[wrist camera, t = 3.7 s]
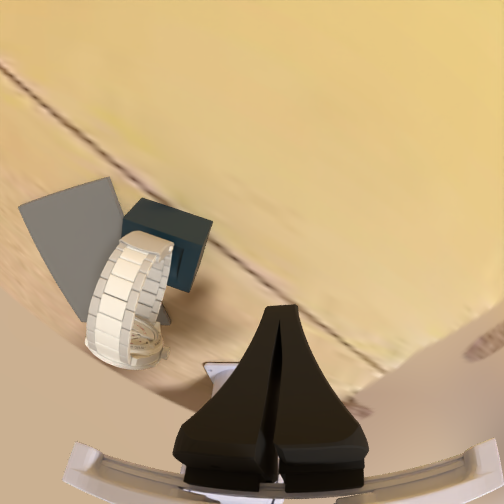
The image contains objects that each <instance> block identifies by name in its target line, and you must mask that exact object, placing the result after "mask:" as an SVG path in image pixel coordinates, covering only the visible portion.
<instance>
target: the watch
mask: <svg viewBox="0 0 504 504" xmlns="http://www.w3.org/2000/svg"><path fill="white" fill-rule="evenodd" d="M212 223H213V221H210V220H207V219H204V218H201V217H199V216H196V215H193V214H190V213H187V212H184V211H181V210H178V209H175V208H172V207H169V206H166V205H163V204H160V203H157V202H154V201H151V200H148V199H145V198H141V199H140V200H139V201H138V202H137V203H136V205H135V206H134V207H133V208H132V209H131V210H130V211H129V212H128V213H127V214H126V215H125V217H124V218H123V223H122V234H121V239H120V240H119V245H118V246H117V247H116V249H115V250H114V251H113V253H112V254H111V256H110V257H109V260H108V261H107V263H106V265H105V267H104V269H103V271H102V273H101V277H102V278H101V277H100V278H99V280H98V283H97V285H96V288H95V291H94V294H93V295H94V296H93V297H92V300H91V303H90V307H89V311H88V313H89V314H88V319H87V326H86V328H87V333H86V338H85V345H86V346H87V347H88V348H89V350H90V351H91V352H92V353H93V354H94V355H95V356H97V357H98V358H99V359H101V360H102V361H104V362H106V363H108V364H110V365H113V366H116V367H119V368H123V369H129V370H145V369H149V368H152V367H154V366H156V365H157V364H158V363H159V362H160V360H161V358H163V359H166V360H167V358H168V356H169V353H170V348H169V347H166V346H164V347H163V344H164V342H163V337H162V335H161V326H160V322H157V321H156V319H157V316H158V313H159V310H160V306H161V303H162V302H160V301H162V300H163V296H164V292H165V289H166V285H168V286H171V287H173V288H176V289H179V290H182V291H185V292H188V293H189V292H190V290H191V287H192V284H193V282H194V279H195V276H196V274H197V271H198V269H199V266H200V262H201V259H202V256H203V252H204V249H205V246H206V243H207V239H208V236H209V233H210V230H211V226H212ZM103 278H104V279H103ZM106 279H107V280H106ZM163 288H164V289H163ZM142 289H143V290H142ZM144 290H145V291H144ZM147 291H148V292H147ZM149 292H151V293H149ZM105 293H107V294H105ZM152 293H153V294H152ZM108 294H110V295H112V296H114V297H112V296H110V295H108ZM155 294H156V295H155ZM96 296H97V297H96ZM115 297H117V298H119V299H117V298H115ZM120 299H122V300H125V301H127V302H125V301H122V300H120ZM156 299H157V300H156ZM158 300H159V301H158ZM138 302H139V303H138ZM141 303H142V304H141ZM143 304H145V305H143ZM146 305H147V306H146ZM149 306H150V307H149ZM151 307H153V308H151ZM155 322H156V323H155Z"/></svg>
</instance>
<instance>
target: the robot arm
mask: <svg viewBox="0 0 504 504" xmlns="http://www.w3.org/2000/svg"><path fill="white" fill-rule="evenodd" d="M204 368H205V370H206V372H207V373H208V375H209V377H210V379H211V381H212V383H213V385H214V386H213V391H212V396H211V399H210V400H209V401H208V402H207V403H206V404H205V405H204V406H203V407H202V408H201V409H200V410H199V411H198V412H197V413H195V414H194V415H193V416H192V417H191V418H190V419H188V420H187V421H186V422H185V423H184V424H182V426H181V428H180V430H179V432H178V435H177V437H176V441H175V445H174V449H173V456H174V457H175V458H176V459H177V460H179V461H180V462H181V463H182V467H181V472H180V474H179V473H173V472H168V471H163V470H159V469H155V468H150V467H146V466H142V465H138V464H135V463H131V462H127V461H124V460H121V459H117V458H114V457H111V456H108V455H105V454H103V453H102V452H100V451H99V450H97V449H95V448H93V447H91V446H88V445H86V444H83V443H80V442H78V441H76V442H75V444H74V447H73V450H72V452H71V455H70V458H69V461H68V464H67V466H66V469H65V472H64V475H63V478H62V480H63V481H64V482H66V483H68V484H70V485H72V486H74V487H76V488H78V489H80V490H82V491H84V492H86V493H89V494H91V495H93V496H95V497H97V498H100V499H102V500H104V501H107V502H109V503H112V504H282V503H283V501H284V499H309V498H326V497H337V496H347V495H354V496H350V497H344V498H338V499H337V500H336V503H334V504H464V503H467V502H469V501H472V500H474V499H476V498H478V497H480V496H483V495H485V494H487V493H489V492H491V491H493V490H495V489H497V488H499V487H501V486H503V484H504V481H503V474H502V469H501V463H500V458H499V453H498V449H497V443H496V439H495V438H491V439H489V440H487V441H484V442H482V443H479V444H477V445H474V446H472V447H470V448H469V449H467V450H466V451H465V452H464V453H462V454H460V455H456V456H454V457H450V458H447V459H444V460H441V461H438V462H434V463H431V464H427V465H424V466H420V467H416V468H412V469H407V470H403V471H398V472H393V473H388V474H383V475H377V476H371V477H365V478H364V472H363V471H364V470H363V469H364V467H365V465H364V458H365V456H366V455H367V453H368V451H369V447H368V442H367V439H366V437H365V435H364V432H363V430H362V428H361V426H360V424H359V423H358V422H357V420H356V419H355V418H354V417H353V416H352V415H351V413H350V412H349V411H348V410H347V408H346V407H345V406H344V405H343V403H342V402H341V401H340V399H339V398H338V396H337V395H336V393H335V392H334V391H333V389H332V388H331V386H330V385H329V383H328V381H327V380H326V378H325V376H324V375H323V373H322V371H321V369H320V368H319V366H318V364H317V362H316V360H315V358H314V356H313V354H312V351H311V349H310V347H309V345H308V342H307V340H306V337H305V334H304V332H303V329H302V325H301V322H300V318H299V313H298V306H297V305H295V304H294V305H279V306H267V307H266V308H265V310H264V314H263V316H262V319H261V322H260V324H259V326H258V329H257V331H256V333H255V335H254V337H253V339H252V341H251V343H250V345H249V347H248V349H247V350H246V352H245V354H244V356H243V357H242V359H241V361H240V362H239V363H206V364H205V366H204ZM278 456H279V457H278ZM369 492H371V493H369ZM363 493H365V494H363ZM355 494H359V495H355Z"/></svg>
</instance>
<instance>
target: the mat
mask: <svg viewBox="0 0 504 504" xmlns="http://www.w3.org/2000/svg"><path fill="white" fill-rule="evenodd" d="M18 208H19V211H20V213H21V215H22V218H23V220H24V222H25V224H26V226H27V228H28V230H29V233H30V235H31V237H32V239H33V241H34V243H35V245H36V247H37V249H38V251H39V252H40V254H41V256H42V258H43V260H44V262H45V264H46V265H47V267H48V269H49V271H50V273H51V274H52V276H53V278H54V279H55V281H56V283H57V285H58V286H59V288H60V290H61V291H62V293H63V294H64V296H65V298H66V299H67V301H68V302H69V304H70V305H71V307H72V309H73V310H74V312H75V313H76V315H77V316H78V318H79V319H80V320H81V322H87V319H88V314H89V313H88V311H89V307H90V303H91V300H92V297H93V296H94V295H93V294H94V291H95V288H96V285H97V283H98V280H99V278H100V277H101V273H102V271H103V269H104V267H105V265H106V263H107V261H108V260H109V257H110V256H111V254H112V253H113V251H114V250H115V249H116V247H117V246H118V245H119V240H120V239H121V234H122V223H123V218H124V215H123V212H122V210H121V207H120V204H119V202H118V199H117V196H116V193H115V191H114V188H113V185H112V182H111V179H110V177H106V178H102V179H99V180H95V181H92V182H88V183H85V184H82V185H78V186H75V187H72V188H69V189H66V190H63V191H60V192H56V193H53V194H51V195H48V196H45V197H42V198H39V199H36V200H33V201H31V202H28V203H25V204H23V205H20V206H19V207H18ZM101 278H102V277H101ZM103 279H104V278H103ZM106 280H107V279H106ZM142 290H143V289H142ZM144 291H145V290H144ZM147 292H148V291H147ZM149 293H151V292H149ZM105 294H107V293H105ZM152 294H153V293H152ZM108 295H110V294H108ZM155 295H156V294H155ZM110 296H112V295H110ZM96 297H97V296H96ZM112 297H114V296H112ZM115 298H117V297H115ZM117 299H119V298H117ZM120 300H122V299H120ZM156 300H157V299H156ZM122 301H125V300H122ZM158 301H159V300H158ZM125 302H127V301H125ZM160 302H161V301H160ZM138 303H139V302H138ZM141 304H142V303H141ZM143 305H145V304H143ZM146 306H147V305H146ZM149 307H150V306H149ZM151 308H153V307H151ZM156 321H157V322H160V325H170V324H171V321H170V319H169V317H168V315H167V313H166V311H165V309H164V307H163V305H162V303H161V306H160V310H159V313H158V316H157V319H156ZM155 323H156V322H155Z"/></svg>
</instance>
